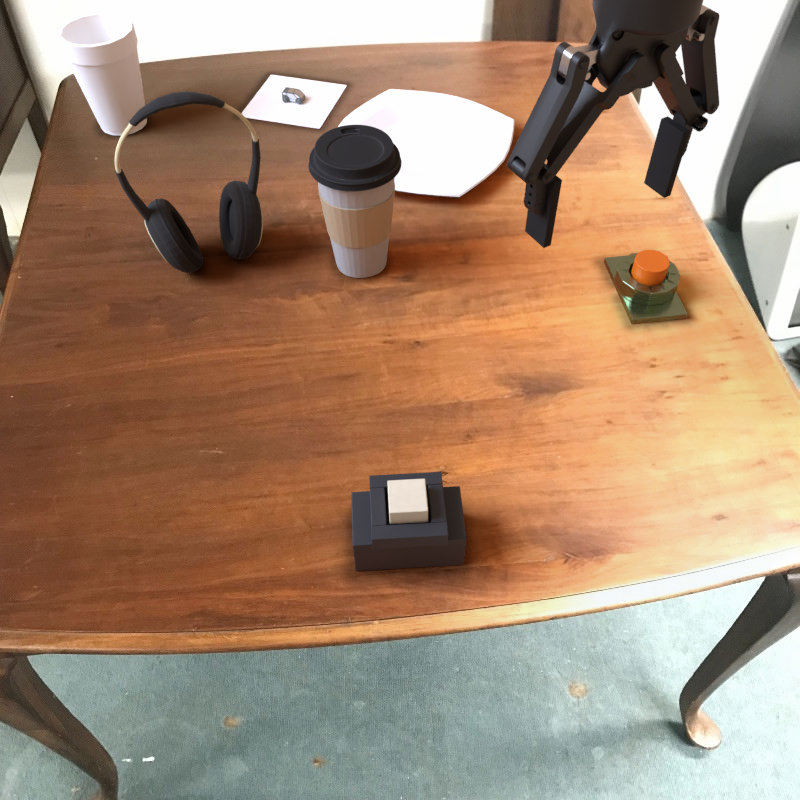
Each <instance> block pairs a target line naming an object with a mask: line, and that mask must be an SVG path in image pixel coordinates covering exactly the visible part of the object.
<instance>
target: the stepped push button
mask: <svg viewBox="0 0 800 800" xmlns="http://www.w3.org/2000/svg"><path fill="white" fill-rule="evenodd" d="M442 474H443V473H442V471H427V472H410V473H409V472H408V473H391V474H375V475H373V474H372V475H368V483H369V485H368V486H369V490H366V491H363V490H362V491H351V497H350V499H351V538H352V539H351V540H352V542H351V543H352V553H353V560H354V561H353V563H354V571H356V572H362V571H364V572H365V571H378V570H379V571H380V570H398V569H399V570H400V569H415V568H431V567H432V568H433V567H447V566H463V565H464V564H465V556H466V547H467V532H466V531H467V530H466V524H465V517H464V516H465V515H464V508H463V500H462V493H461V486H460V485H455V486H444V484H443V475H442ZM408 479H425V481H426V492H427V502H428V522H420V523H402V524H390V521H389V503H388V483H387V482H388V481H390V480H408Z"/></svg>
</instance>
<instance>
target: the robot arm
mask: <svg viewBox="0 0 800 800" xmlns="http://www.w3.org/2000/svg"><path fill="white" fill-rule="evenodd" d="M591 3H592V5H591V6H592V10H593V14H594V21H595V29H594V32H593V34H592V37H591V38H590V40H589V42H588V44H586V45H585V44H584V45H580V46H573V45H572V44H570V43H569V42H566V41H562V42H560V43H559V44H558V45H557V46H556V48H555V51H554V54H553V60H552V63H551V68H550V72H549V75H548V78H547V80H546V82H545V83H544V86H543V88H542V89H541V91H540V94H539V96H538V98H537V100H536V102H535V104H534V106H533V108H532V110H531V112H530V114H529V117H528V118H527V120H526V122H525V124H524V126H523V128H522V131H521V132H520V135H519V136H518V139H517V141H516V143H515V145H514V147H513V149H512V151H511V153H510V155H509V157H508V159H507V161H506V167H507V169H509V170H510V172H512V173H513V174H514V175H516V177H518V178H519V179H521V180H522V182H523V183H525V189H524V195H523V205H524V207H525V208H526V209H527V212H526V220H525V227H524V232H525V233H526V234H527V235H528V236H530V238H532V239H533V240H534V241H535V242H536V243H537V244H538V245H540V247H542V249H546V248H547V247H550V246H551V245H552V240H553V234H554V229H555V223H556V217H557V212H558V206H559V202H560V201H559V200H560V195H561V194H560V193H561V189H562V182H563V180H562V179H561V178H560V177H559V176H558V173H559V172H560V171H561V169H562V168H563V166H564V165H565V163H566V162H567V161H568V160H569V158H570V157H571V156H572V154H573V153H574V151H576V149H577V147H578V146H579V144H580V143H581V142H582V140H583V139H584V138H585V137H586V135H587V133H588V132H589V131H590V129H591V128H592V127H593V125H594V124H595V123H596V121H597V120H598V118H600V116H601V114H602V113H603V112H604V111H607V110H610V109H613V107H614V105H615V104H616V103H617V102H618V100H619V98H621V97H625V96H628V95H630V94H631V93H633V92H634V91H636V90H638V89H647V88H650V87H652V86H653V85H654V87H655V88H656V90H657V91H658V94H659V96H660V98H661V99H662V101H663V102H664V104H665V106H666V108H667V110H668V111H669V113H670V115H672V116H673V117H672V118H671V117H670V116H665V117H662V118H661V119H660V121H659V126H658V129H657V133H656V137H655V141H654V144H653V148H652V152H651V156H650V159H649V163H648V167H647V171H646V174H645V177H644V181H643V184H645V186H647V187H648V188H650V189H651V190H652V191H654V192H655V193H657V194H658V195H659V196H661V197H662V198H663V199H665V198H669V197H671V195H672V193H673V189H674V186H675V183H676V178H677V175H678V172H679V169H680V165H681V163H682V159H683V157H684V155H685V154H686V153H687V149H688V145H689V143H690V140H691V136H692V133H693V130H695V131H696V132H698V133H700V132H702V131H703V130H704V129H706V127H707V125H708V122H709V119H708V118H706V117H705V114H708V115H713V114H715V113H716V111H717V110H718V109H719V107H720V94H719V92H720V91H719V81H718V79H719V78H718V66H717V55H716V54H717V53H716V43H715V41H716V34H717V31H718V30H717V29H718V26H719V22H720V13H719V12H717V11H715V10H713V9H711V8H709V7H707V6H706V5H704V4H703V3H704V0H592V2H591ZM679 48H681V56H682V64H683V68H682V66H681V65H680V63H679V61H678V58H677V53H676V52H677V51H678V50H679ZM683 70H684V71H683ZM683 75H684V78H683ZM596 79H597V80H598V83H599V84H600V85H601V86H602V87H603V88H605V90H604V91H600V90H599V89H598V88H596V87H594V85H593V84H594V82H595V81H596Z"/></svg>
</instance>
